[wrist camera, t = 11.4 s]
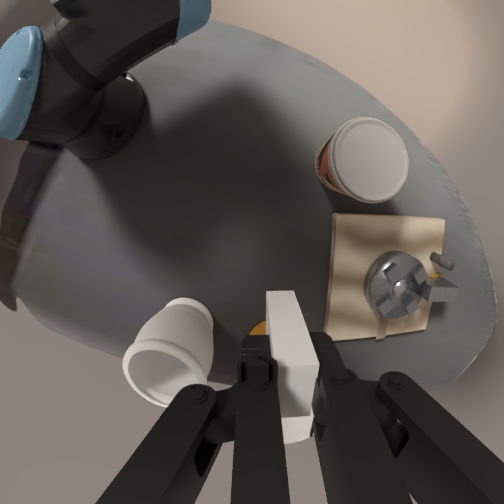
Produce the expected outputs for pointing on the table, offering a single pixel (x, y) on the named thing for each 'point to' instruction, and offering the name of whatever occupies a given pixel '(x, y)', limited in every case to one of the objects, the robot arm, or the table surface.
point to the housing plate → (359, 261)
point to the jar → (171, 351)
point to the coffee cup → (363, 161)
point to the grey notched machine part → (403, 285)
